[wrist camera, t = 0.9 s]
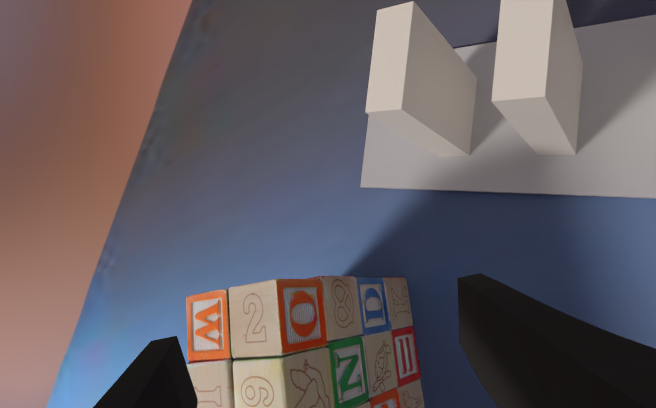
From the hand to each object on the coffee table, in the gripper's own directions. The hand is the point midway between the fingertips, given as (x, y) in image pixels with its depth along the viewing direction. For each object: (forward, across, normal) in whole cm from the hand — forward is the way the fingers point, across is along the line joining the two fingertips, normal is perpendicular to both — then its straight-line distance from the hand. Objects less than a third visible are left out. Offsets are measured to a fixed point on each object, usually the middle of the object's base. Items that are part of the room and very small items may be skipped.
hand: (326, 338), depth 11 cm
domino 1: (+16, -11, -1) cm, 19 cm away
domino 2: (+12, -15, -2) cm, 19 cm away
